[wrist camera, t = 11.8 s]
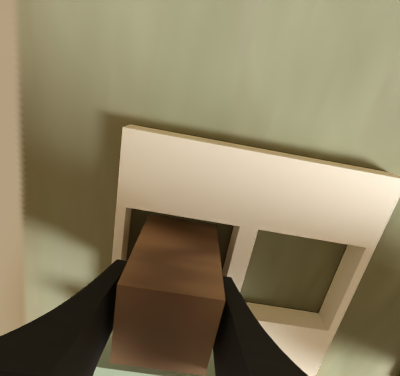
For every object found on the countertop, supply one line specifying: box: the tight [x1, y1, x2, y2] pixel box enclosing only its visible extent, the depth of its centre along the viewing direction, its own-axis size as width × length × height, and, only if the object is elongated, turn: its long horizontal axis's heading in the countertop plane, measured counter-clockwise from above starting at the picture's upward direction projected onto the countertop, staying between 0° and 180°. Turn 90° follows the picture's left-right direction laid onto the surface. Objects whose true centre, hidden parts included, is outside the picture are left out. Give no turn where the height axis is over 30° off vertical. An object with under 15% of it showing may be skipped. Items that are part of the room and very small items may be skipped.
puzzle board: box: [111, 124, 400, 376], centre depth 16 cm, size 14×20×1 cm
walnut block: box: [110, 214, 225, 376], centre depth 13 cm, size 4×4×6 cm
